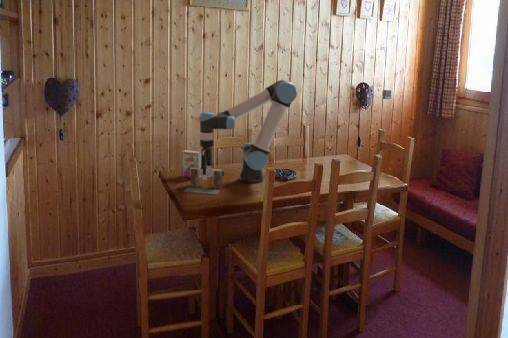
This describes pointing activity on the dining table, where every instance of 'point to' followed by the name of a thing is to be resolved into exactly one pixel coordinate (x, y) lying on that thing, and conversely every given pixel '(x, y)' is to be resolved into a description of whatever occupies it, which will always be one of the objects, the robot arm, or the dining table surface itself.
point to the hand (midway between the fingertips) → (206, 178)
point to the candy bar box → (190, 161)
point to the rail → (209, 171)
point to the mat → (202, 191)
